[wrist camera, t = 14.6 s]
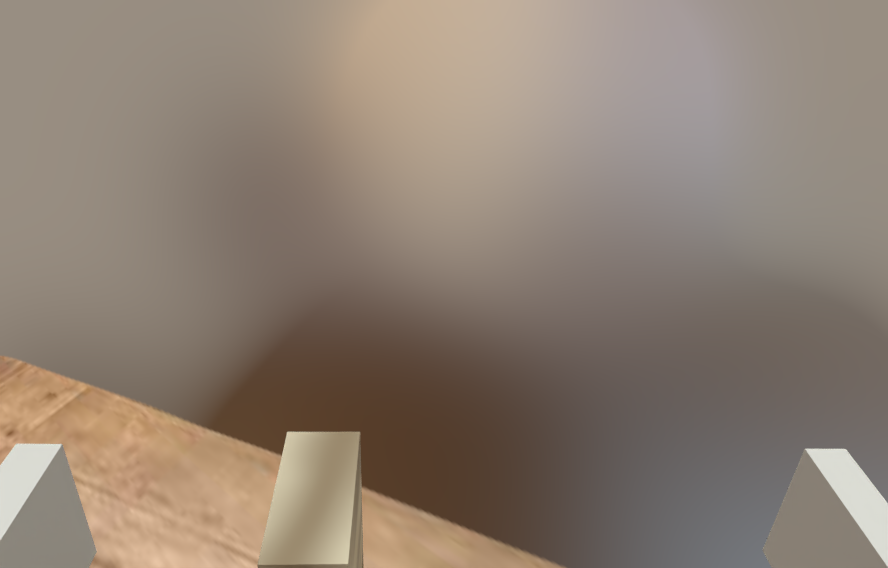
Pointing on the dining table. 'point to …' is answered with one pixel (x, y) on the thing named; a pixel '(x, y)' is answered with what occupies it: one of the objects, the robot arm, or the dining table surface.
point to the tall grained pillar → (316, 504)
